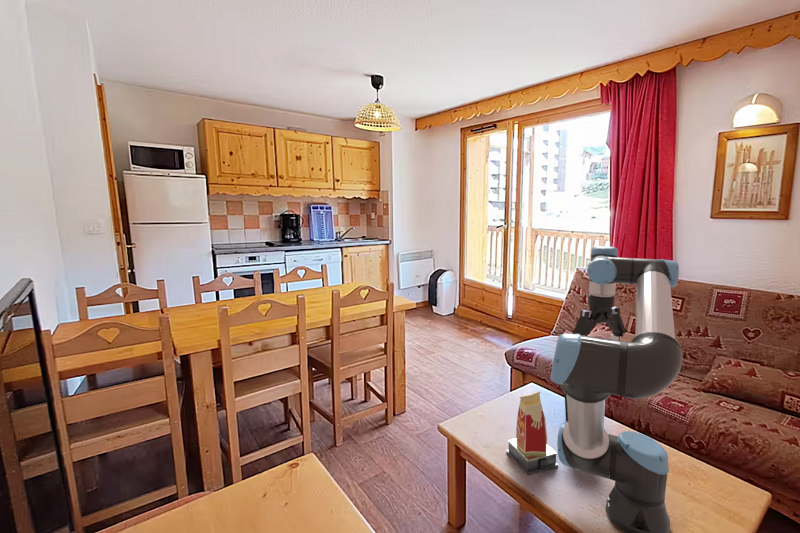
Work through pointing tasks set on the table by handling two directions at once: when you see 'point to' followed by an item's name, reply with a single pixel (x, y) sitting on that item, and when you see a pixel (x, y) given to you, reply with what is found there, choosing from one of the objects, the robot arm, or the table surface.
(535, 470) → the stand
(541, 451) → the milk carton
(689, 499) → the table surface
